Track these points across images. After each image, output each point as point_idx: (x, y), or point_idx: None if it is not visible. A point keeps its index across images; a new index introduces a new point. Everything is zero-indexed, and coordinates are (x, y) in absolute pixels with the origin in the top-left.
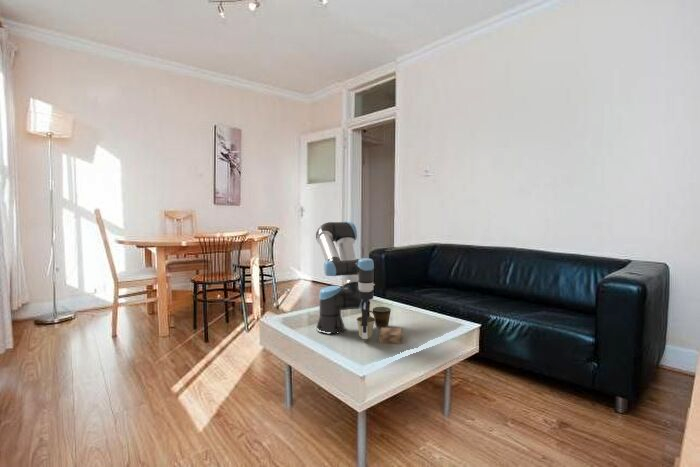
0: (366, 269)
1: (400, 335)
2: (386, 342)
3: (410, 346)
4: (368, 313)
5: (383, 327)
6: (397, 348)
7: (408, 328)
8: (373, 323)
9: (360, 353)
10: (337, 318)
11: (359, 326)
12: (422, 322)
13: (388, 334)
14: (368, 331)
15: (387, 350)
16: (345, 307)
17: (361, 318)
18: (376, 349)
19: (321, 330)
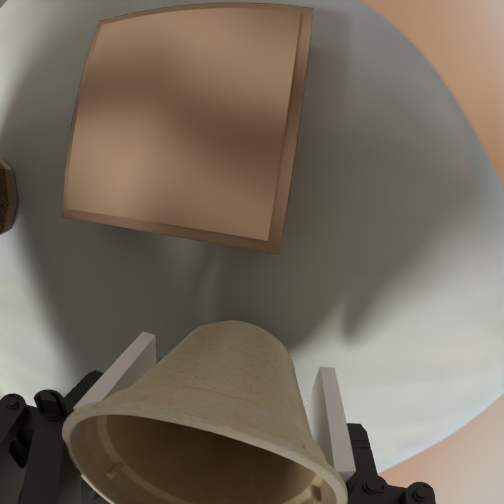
0: None
1: (302, 17)
2: (292, 170)
3: (367, 6)
4: (60, 492)
5: (12, 186)
6: (418, 103)
7: (37, 37)
8: (269, 416)
9: (452, 376)
10: (84, 493)
11: (265, 491)
12: (7, 9)
13: (280, 137)
14: (300, 398)
15: (453, 193)
16: (19, 499)
17: (118, 486)
18: (427, 277)
19: None
